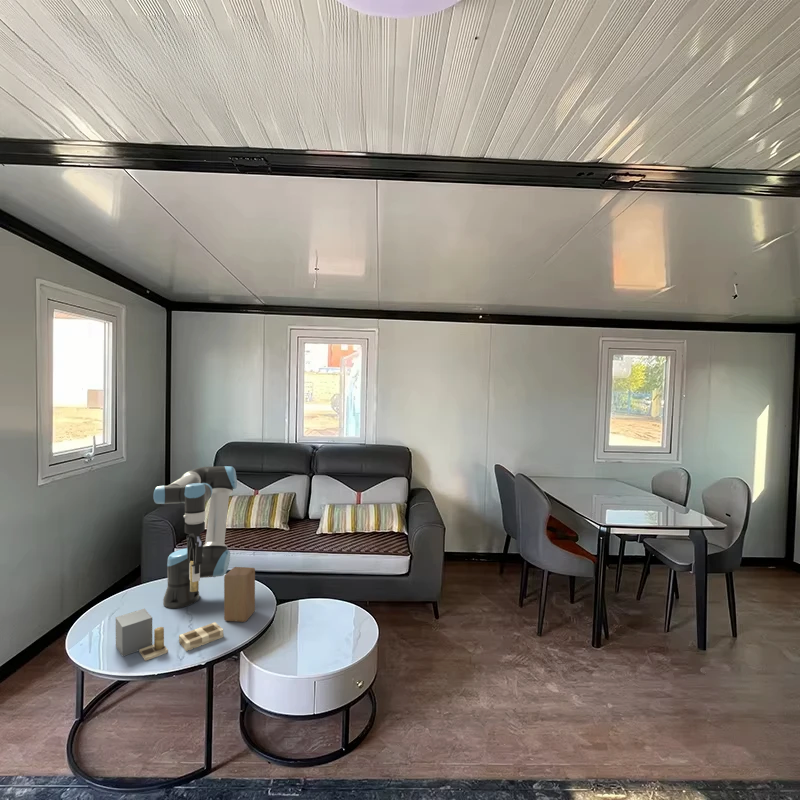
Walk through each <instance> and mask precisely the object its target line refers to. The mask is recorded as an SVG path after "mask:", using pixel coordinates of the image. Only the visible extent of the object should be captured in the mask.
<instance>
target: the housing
mask: <svg viewBox="0 0 800 800" xmlns="http://www.w3.org/2000/svg"><path fill="white" fill-rule="evenodd" d="M151 645H153V617H152V615H151V614H150V613H149V612H148V611H147V610H146V608H140V609H138V610H134V611H132V612H129V613H125V614H121V615H119V616H115V646H116V649H117V650H118V651H119V654H120V655H121V657H125V656H127V655H132V654H133V653H136V652H139V649H142V648H145V647H148V646H151Z"/></svg>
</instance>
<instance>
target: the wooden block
mask: <svg viewBox="0 0 800 800" xmlns="http://www.w3.org/2000/svg"><path fill="white" fill-rule="evenodd" d="M223 576H224V577H223V581H224V583H223V589H224V591H223V593H224V594H223V596H224V598H223V599H224V600H223V604H224V605H223V606H224V607H223V609H224V611H223V612H224V613H223V615H224V616H223V618H224V621H226V622H237V623H238V622H240V623H246V622H247V621H248V620H249V619H250V618H251V616H252V615H254V612H255V611H256V569H255V567H248V566H247V567H246V566H244V567H242V566H235V567H233V568H231V570H229V571H227V572H226V573H225V574H224V575H223Z"/></svg>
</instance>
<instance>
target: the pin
mask: <svg viewBox="0 0 800 800" xmlns="http://www.w3.org/2000/svg"><path fill="white" fill-rule="evenodd" d="M191 565H193V560H191V561H190V592H196V591H199V590H200V586H199V584H200V583H199V582H200V581H196V582H192V566H191Z"/></svg>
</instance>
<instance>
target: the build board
mask: <svg viewBox="0 0 800 800" xmlns="http://www.w3.org/2000/svg"><path fill="white" fill-rule="evenodd" d="M222 638H224V628H222V627H221V625H219V624H218V623H217V622H216V621H214V622H212V623H209V624H207V625H202V626H200V627H198V628H196V629H195V628H194V629H192V630H189V631H187V632H184V633H181V634H179V635H178V644H179V645H181V647H182V648H183V649H184V650H185V652H189V651H191V650H194V649H197V648H198V647H199V648H200V647H201V645H202V646H204V645H207V644H209V643H211V642H215V641H216V640H219V639H222ZM193 648H194V649H193ZM188 650H189V651H188Z"/></svg>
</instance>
